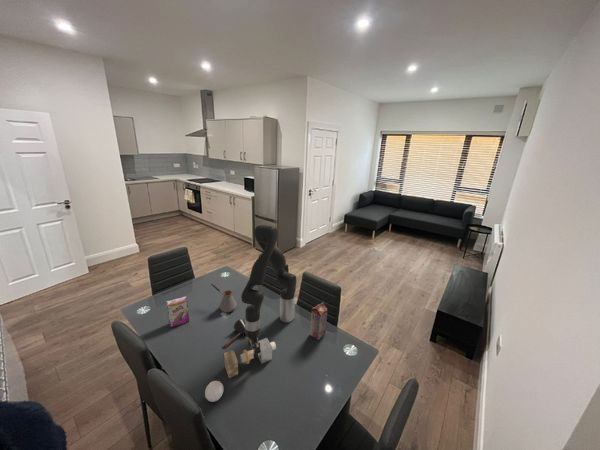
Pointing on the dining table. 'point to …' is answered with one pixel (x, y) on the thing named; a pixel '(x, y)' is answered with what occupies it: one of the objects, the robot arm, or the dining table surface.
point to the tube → (249, 355)
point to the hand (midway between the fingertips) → (252, 351)
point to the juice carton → (318, 321)
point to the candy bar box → (177, 311)
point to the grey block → (265, 350)
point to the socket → (231, 363)
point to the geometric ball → (214, 391)
